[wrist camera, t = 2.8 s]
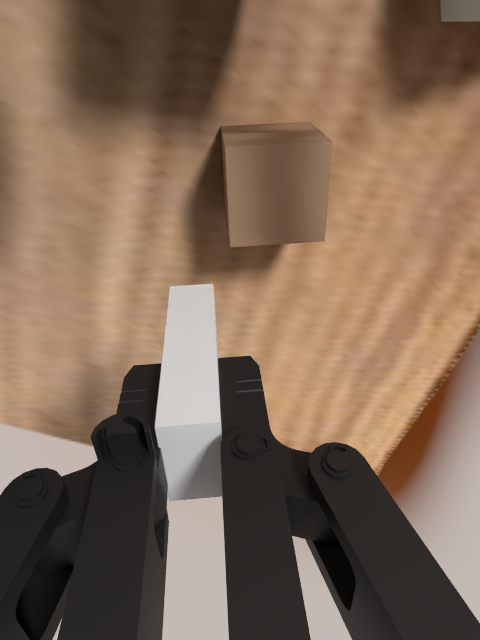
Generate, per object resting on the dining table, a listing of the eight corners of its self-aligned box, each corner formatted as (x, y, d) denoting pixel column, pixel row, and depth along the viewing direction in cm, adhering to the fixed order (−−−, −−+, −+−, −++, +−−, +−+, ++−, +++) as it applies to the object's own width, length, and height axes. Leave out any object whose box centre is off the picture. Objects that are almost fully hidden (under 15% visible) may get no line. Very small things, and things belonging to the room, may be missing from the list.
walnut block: (225, 213, 33) (230, 247, 28) (220, 126, 30) (224, 147, 25) (305, 208, 33) (324, 241, 28) (309, 121, 30) (332, 141, 25)
